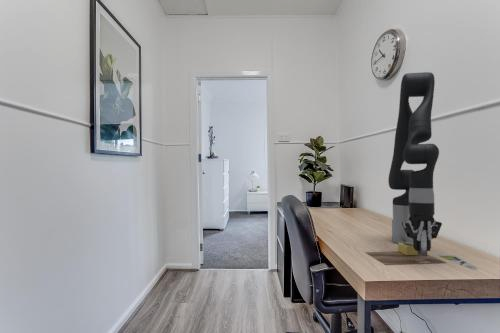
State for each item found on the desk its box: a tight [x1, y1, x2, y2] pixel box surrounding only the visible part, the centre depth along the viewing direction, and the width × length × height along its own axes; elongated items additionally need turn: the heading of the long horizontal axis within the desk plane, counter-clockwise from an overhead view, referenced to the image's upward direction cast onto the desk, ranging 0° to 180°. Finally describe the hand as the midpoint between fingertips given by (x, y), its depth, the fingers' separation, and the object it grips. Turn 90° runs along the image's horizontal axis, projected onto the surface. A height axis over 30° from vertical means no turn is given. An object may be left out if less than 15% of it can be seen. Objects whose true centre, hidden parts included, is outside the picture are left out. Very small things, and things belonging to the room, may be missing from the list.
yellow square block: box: [397, 243, 418, 255], centre depth 101 cm, size 5×5×4 cm
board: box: [364, 250, 447, 266], centre depth 97 cm, size 14×22×2 cm, turn 95°
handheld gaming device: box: [434, 253, 478, 270], centre depth 97 cm, size 9×1×15 cm
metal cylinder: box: [417, 230, 428, 256], centre depth 93 cm, size 3×3×9 cm
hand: (422, 250), depth 93 cm, fingers closed on metal cylinder, 2 cm apart
